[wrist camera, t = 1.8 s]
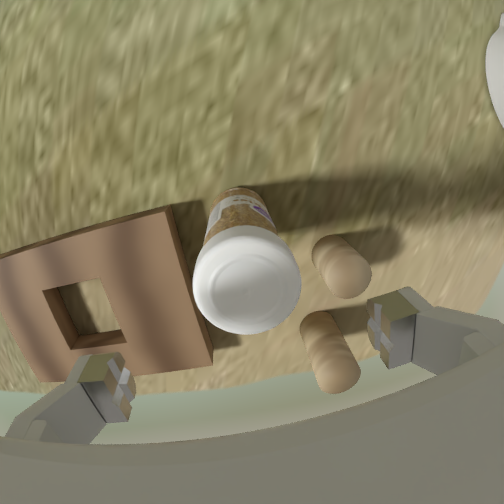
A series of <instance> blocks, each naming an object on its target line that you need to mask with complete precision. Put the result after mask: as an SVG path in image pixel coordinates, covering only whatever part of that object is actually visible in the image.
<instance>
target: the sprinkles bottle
mask: <svg viewBox="0 0 504 504" xmlns="http://www.w3.org/2000/svg"><path fill="white" fill-rule="evenodd" d="M300 292H301V275H300V271H299V268H298V265H297V263H296V260H295V258H294V256H293V254H292V252H291V250H290V249H289V247H288V246H287V244H286V243H285V242H284V241H283V240H282V239H281V238H280V237H279V236H278V234H277V230H276V228H275V225H274V223H273V221H272V219H271V217H270V215H269V213H268V211H267V208H266V205H265V203H264V201H263V200H262V198H261V197H260V196H259V195H258V194H257V193H256V192H254V191H252V190H250V189H247V188H239V187H235V188H231V189H228V190H226V191H224V192H222V193H221V194H220V195H219V196H218V197H217V198H216V199H215V200H214V202H213V205H212V206H211V210H210V217H209V221H208V226H207V230H206V235H205V239H204V243H203V248H202V249H201V251H200V253H199V255H198V258H197V261H196V265H195V269H194V275H193V294H194V298H195V302H196V304H197V306H198V308H199V310H200V311H201V313H202V314H203V315H204V316H205V318H206V319H207V320H208V321H210V322H211V323H212V324H213V325H215V326H216V327H218V328H220V329H222V330H225V331H227V332H231V333H235V334H257V333H261V332H264V331H267V330H270V329H272V328H274V327H276V326H277V325H279V324H280V323H281V322H283V321H284V320H285V319H286V318H287V317H288V316H289V315H290V314H291V312H292V311H293V309H294V308H295V306H296V304H297V302H298V299H299V296H300Z"/></svg>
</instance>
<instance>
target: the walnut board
mask: <svg viewBox="0 0 504 504" xmlns="http://www.w3.org/2000/svg"><path fill="white" fill-rule="evenodd" d="M96 278H100V279H101V282H102V284H103V287H104V289H105V292H106V295H107V297H108V299H109V302H110V304H111V307H112V309H113V312H114V314H115V316H116V319H117V321H118V323H119V326H120V328H121V330H116V331H109V332H103V333H96V334H89V335H82V336H79V334H78V332H77V330H76V328H75V326H74V324H73V322H72V320H71V318H70V315H69V313H68V311H67V309H66V307H65V304H64V302H63V300H62V297H61V295H60V293H59V290H58V288H57V287H60V286H64V285H69V284H73V283H78V282H82V281H87V280H91V279H96ZM0 311H1V313H2V315H3V317H4V319H5V321H6V323H7V325H8V327H9V329H10V331H11V333H12V335H13V337H14V339H15V341H16V342H17V344H18V346H19V348H20V350H21V351H22V353H23V355H24V357H25V358H26V360H27V362H28V364H29V365H30V367H31V369H32V370H33V372H34V373H35V375H36V377H37V378H38V380H39V381H40V382H63V381H66V379H67V377H68V376H69V374H70V372H71V370H72V368H73V366H74V365H75V363H76V361H77V359H78V357H80V356H82V355H90V354H100V353H109V352H119V353H121V354H122V356H123V358H124V360H125V361H126V362H125V365H124V367H125V368H126V369H127V370H129V371H130V372H131V373H132V375H133V376H138V375H147V374H156V373H163V372H171V371H178V370H185V369H192V368H198V367H204V366H211V365H213V346H212V343H211V340H210V337H209V334H208V331H207V328H206V324H205V321H204V318H203V315H202V313H201V311H200V310H199V308H198V306H197V304H196V302H195V298H194V294H193V283H192V279H191V276H190V273H189V269H188V266H187V262H186V259H185V256H184V252H183V249H182V245H181V241H180V238H179V234H178V231H177V227H176V223H175V220H174V216H173V212H172V208H171V205H167V206H163V207H159V208H155V209H151V210H147V211H143V212H139V213H136V214H132V215H128V216H124V217H121V218H117V219H114V220H110V221H106V222H103V223H99V224H96V225H92V226H89V227H85V228H82V229H79V230H75V231H72V232H69V233H65V234H62V235H59V236H56V237H52V238H49V239H46V240H43V241H40V242H37V243H34V244H31V245H28V246H24V247H21V248H18V249H16V250H13V251H10V252H7V253H4V254H1V255H0Z"/></svg>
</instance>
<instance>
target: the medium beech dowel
mask: <svg viewBox="0 0 504 504" xmlns="http://www.w3.org/2000/svg"><path fill="white" fill-rule="evenodd" d="M300 333H301V336H302V339H303V342H304V345H305V347H306V350H307V353H308V356H309V359H310V362H311V365H312V367H313V370H314V373H315V376H316V379H317V382H318V384H319V387H320V389H321V390H322V391H324V392H326V393H330V394H337V393H341V392H344V391H346V390H348V389H350V388H351V387H352V386H354V385H355V384H356V383H357V381H358V379H359V378H360V374H361V370H360V367H359V365H358V363H357V362H356V360H355V358H354V356H353V354H352V352H351V350H350V348H349V346H348V345H347V343H346V341H345V339H344V337H343V335H342V333H341V332H340V330H339V328H338V326H337V324H336V322H335V321H334V319H333V317H332V316H331V315H330V314H329V313H327V312H324V311H316V312H313V313H311V314H309V315H307V316H306V317H305V318H304V319H303V320H302V322H301V324H300Z"/></svg>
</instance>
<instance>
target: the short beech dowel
mask: <svg viewBox="0 0 504 504" xmlns="http://www.w3.org/2000/svg"><path fill="white" fill-rule="evenodd" d="M312 261H313V264H314V265H315V267H316V268H317V270H318V272H319V273H320V275H321V276H322V278H323V279H324V281H325V282H326V284H327V286H328V287H329V289H330V290H331V292H332V293H333V294H334V295H335V296H337V297H339V298H342V299H350V298H354V297H356V296H358V295H360V294H361V293H363V292H364V291H365V289H366V288H367V287H368V285H369V283H370V281H371V276H372V271H371V267H370V265H369V263H368V262H367V261H366V260H365V259H364V258H363V257H362V256H361V255H360V254H359V253H358V252H357V251H356V250H355V249H354V248H353V247H352V246H351V245H349V244H348V243H347V242H346V241H345V240H344V239H343V238H342V237H340V236H337V235H328V236H325V237H323V238H321V239H320V240H319V241H318V242H317V243H316V244H315V246H314V247H313V250H312Z"/></svg>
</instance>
